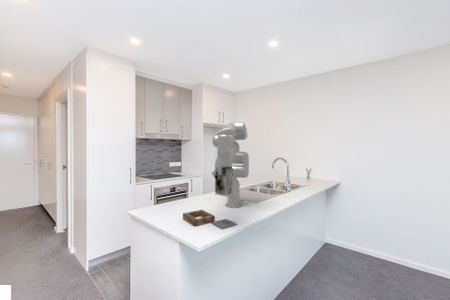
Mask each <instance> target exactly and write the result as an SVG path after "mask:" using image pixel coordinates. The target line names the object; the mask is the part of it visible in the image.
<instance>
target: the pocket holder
mask: <svg viewBox="0 0 450 300" xmlns="http://www.w3.org/2000/svg"><path fill="white" fill-rule="evenodd" d="M197 217H198V218H197ZM182 219H183V220H184V221H185V222H187V223H188V224H190V225H191V226H193V227H198V226H202V225H207V224H210V223H211V222H215V221H216V217H215V215H214V214H211V213H210V212H207V211H205V210H203V209H197V210H193V211H188V212H183V213H182Z"/></svg>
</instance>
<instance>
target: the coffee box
mask: <svg viewBox="0 0 450 300" xmlns="http://www.w3.org/2000/svg"><path fill="white" fill-rule="evenodd" d="M216 173H218V171H217V172H216ZM214 180H215V181H214V182H215V183H214V187H215V188H214V189H215V190H214V191H215V192H214V193H215V194H218V195H221V196H225V197H226V196H227V195H231V194H233V167H223V168H222V175H221V177H220V179H219V180H220V187H218V186H217V185H216V179H215V178H214Z"/></svg>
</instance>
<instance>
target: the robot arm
mask: <svg viewBox="0 0 450 300" xmlns="http://www.w3.org/2000/svg"><path fill="white" fill-rule="evenodd" d="M246 139H248V131H247V126H246V124H245V123H244V122H242V121H241V122H229V123H227V125H226V127H225V128H223V129H221V130H219V131H218V130H217V132H215V133H214V135H213V137H212V139H211V140H212V141H211V142H212V146H213V147H215V148H217V153H216V155H217V157H216V158H215V162H214V163H215V164H214V170H213V171H212V172H211V175H212V177H213V178H214V180H215V179H216V185H217V186H218V187H220V180H219V179H220V177H221V175H222V168H223V167H233V194H231V195H227V202H226V203H225V206H226V207H228V208H233V209H234V208H240V207H242V203H243V202H245V199H242V198H240V196H241V195H240V193H241V192H240V188H241V187H240V186H241V184H240V181H239V179H240V178H241V179H242V178H245V179H246V178H248V177H249V171H250V167H249V166H250V163H249V162H250V159H249V157H250V156H249V154H248V152H247V151H240V144H239V143H238V142H237V141H243V140H244V141H245V140H246ZM237 164H239V165H237ZM217 171H218V173H216V172H217ZM238 178H239V179H238Z"/></svg>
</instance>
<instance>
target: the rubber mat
mask: <svg viewBox="0 0 450 300" xmlns="http://www.w3.org/2000/svg"><path fill="white" fill-rule="evenodd" d="M237 224H238V223H236V222H234V221H231V220H229V219H227V218H224V219H219V220H215V222H211V225H213V226H215V227H217V228H218V229H220V230H225V229H227V228H232V227H235V226H237Z"/></svg>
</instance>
